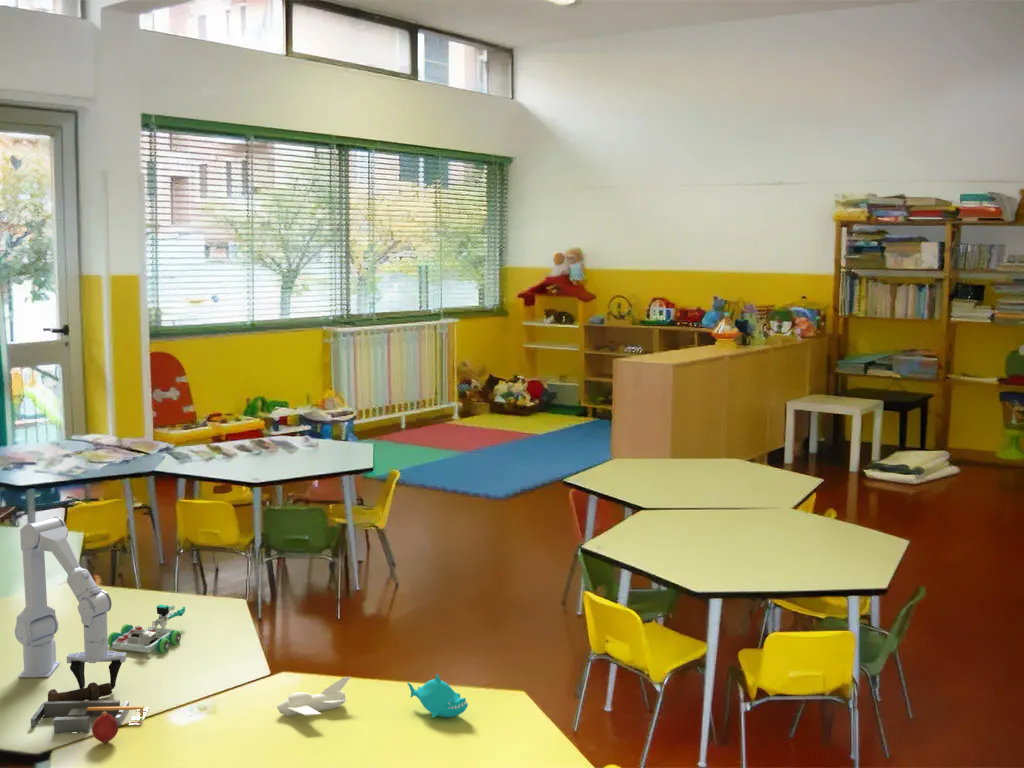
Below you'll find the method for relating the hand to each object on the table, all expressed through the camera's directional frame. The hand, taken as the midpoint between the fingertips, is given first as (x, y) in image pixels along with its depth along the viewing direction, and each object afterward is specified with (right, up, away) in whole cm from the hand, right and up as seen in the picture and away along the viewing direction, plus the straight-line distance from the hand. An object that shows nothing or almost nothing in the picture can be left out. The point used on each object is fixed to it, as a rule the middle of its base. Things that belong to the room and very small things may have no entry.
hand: (97, 687), depth 274 cm
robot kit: (+2, +3, +36) cm, 37 cm away
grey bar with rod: (+5, -4, -14) cm, 16 cm away
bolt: (-2, -3, -6) cm, 7 cm away
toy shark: (+89, -5, -6) cm, 90 cm away
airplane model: (+58, -4, -6) cm, 59 cm away
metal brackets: (+4, -4, -15) cm, 16 cm away
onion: (+12, -6, -26) cm, 29 cm away
